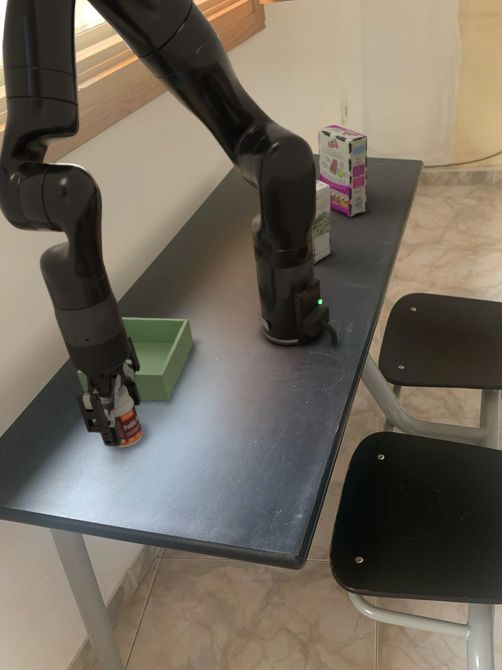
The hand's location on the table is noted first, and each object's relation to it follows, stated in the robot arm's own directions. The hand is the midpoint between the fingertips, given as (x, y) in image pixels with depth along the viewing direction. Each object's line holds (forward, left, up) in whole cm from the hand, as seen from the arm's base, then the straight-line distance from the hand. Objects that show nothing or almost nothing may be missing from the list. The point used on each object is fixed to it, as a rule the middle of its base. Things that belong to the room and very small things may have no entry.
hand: (124, 423), depth 93 cm
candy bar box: (+8, -82, -3) cm, 82 cm away
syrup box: (+3, -59, -3) cm, 59 cm away
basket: (+9, -14, -3) cm, 17 cm away
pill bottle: (0, 0, -3) cm, 3 cm away
